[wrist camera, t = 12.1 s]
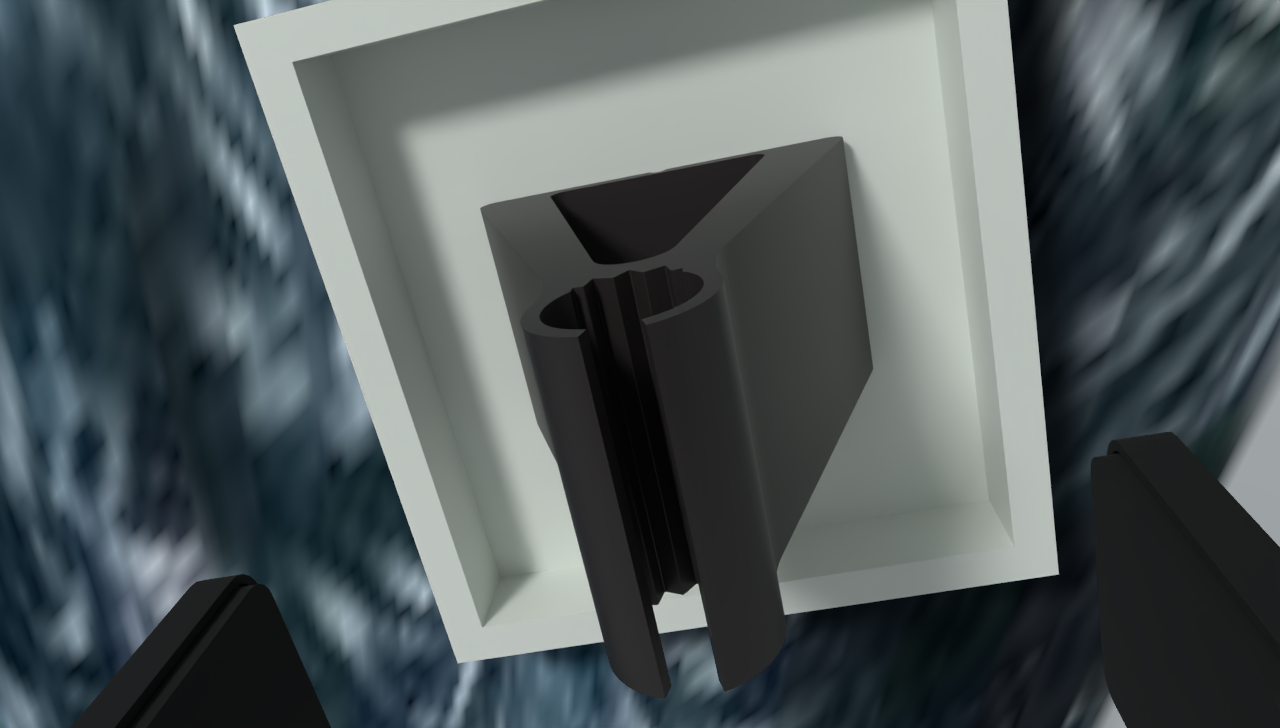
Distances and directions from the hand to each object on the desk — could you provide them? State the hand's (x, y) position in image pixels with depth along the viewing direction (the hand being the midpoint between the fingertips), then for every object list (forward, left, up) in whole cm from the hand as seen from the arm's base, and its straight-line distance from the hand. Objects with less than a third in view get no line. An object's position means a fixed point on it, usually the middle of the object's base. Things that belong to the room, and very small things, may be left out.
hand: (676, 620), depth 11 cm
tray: (+1, +1, -16) cm, 15 cm away
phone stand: (0, 0, -15) cm, 15 cm away
